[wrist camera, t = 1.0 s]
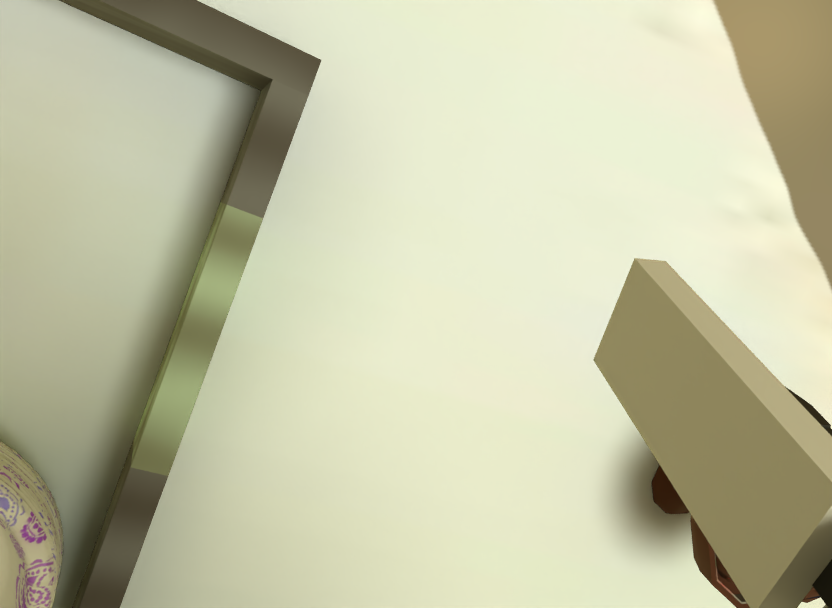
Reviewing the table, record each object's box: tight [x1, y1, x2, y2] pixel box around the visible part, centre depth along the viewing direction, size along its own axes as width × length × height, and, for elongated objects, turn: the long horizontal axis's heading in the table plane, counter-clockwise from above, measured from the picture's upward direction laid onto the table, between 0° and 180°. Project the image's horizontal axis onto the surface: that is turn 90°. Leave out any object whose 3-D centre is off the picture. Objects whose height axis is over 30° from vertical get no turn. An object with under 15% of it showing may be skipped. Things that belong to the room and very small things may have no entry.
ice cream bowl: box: [652, 465, 820, 608], centre depth 50 cm, size 11×11×15 cm
